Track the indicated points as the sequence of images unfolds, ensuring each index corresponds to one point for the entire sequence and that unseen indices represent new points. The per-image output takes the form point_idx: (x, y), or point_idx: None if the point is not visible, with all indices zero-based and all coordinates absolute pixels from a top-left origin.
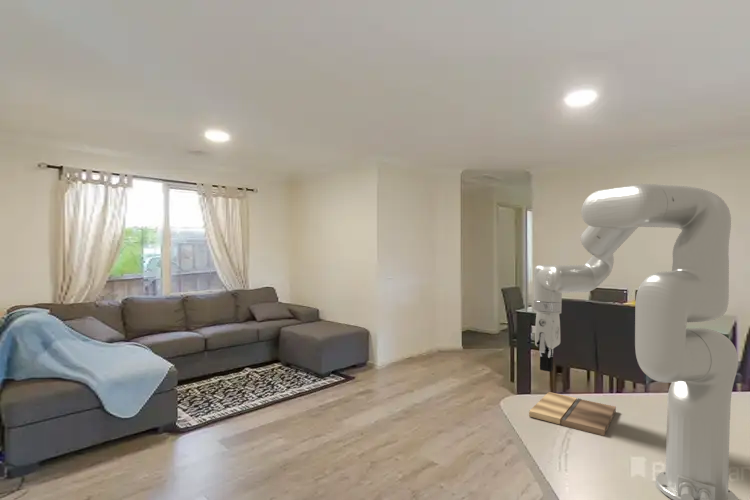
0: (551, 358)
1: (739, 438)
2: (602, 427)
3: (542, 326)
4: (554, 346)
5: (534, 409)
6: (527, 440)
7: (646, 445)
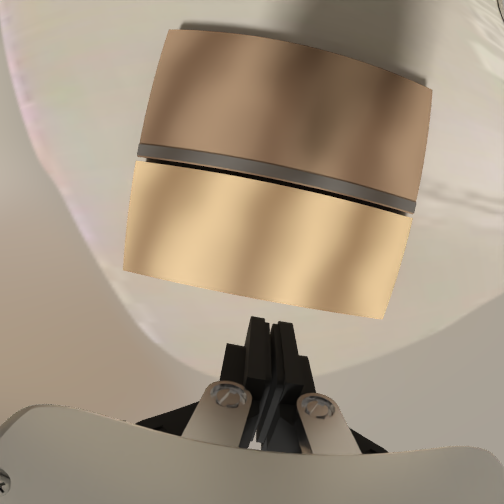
0: (303, 382)
1: None
2: (417, 89)
3: None
4: (436, 461)
5: (362, 306)
6: (496, 289)
7: (411, 9)
